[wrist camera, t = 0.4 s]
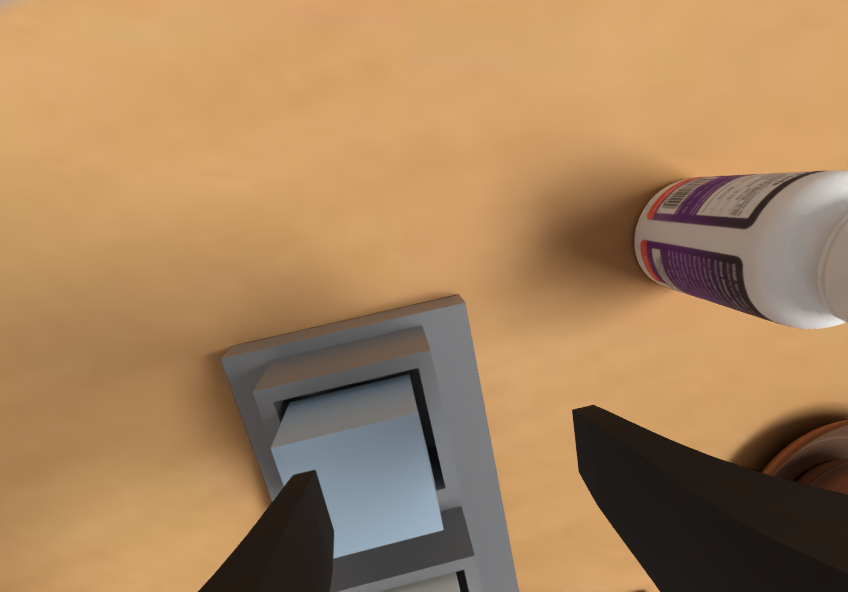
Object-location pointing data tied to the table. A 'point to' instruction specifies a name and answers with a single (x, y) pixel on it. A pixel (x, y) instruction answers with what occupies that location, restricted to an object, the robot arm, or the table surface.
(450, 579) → the white key
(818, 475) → the cup and saucer
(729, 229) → the pill bottle
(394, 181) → the table surface
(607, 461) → the robot arm
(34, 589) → the table surface
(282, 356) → the key panel
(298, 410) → the blue key
